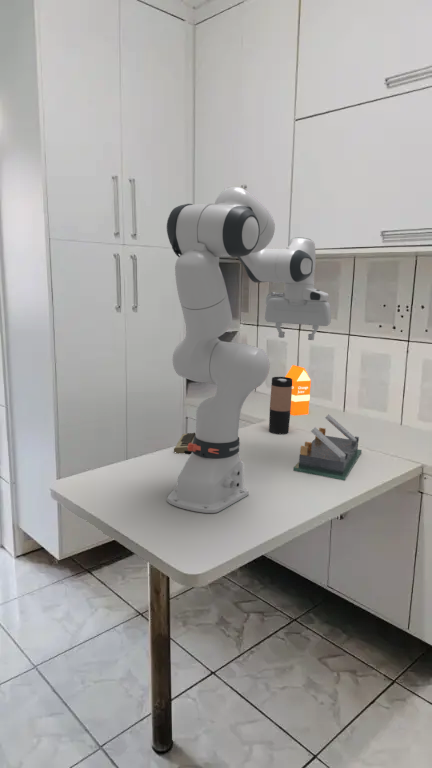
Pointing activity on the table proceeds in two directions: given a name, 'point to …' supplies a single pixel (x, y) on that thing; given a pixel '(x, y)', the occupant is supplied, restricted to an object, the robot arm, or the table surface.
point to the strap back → (340, 428)
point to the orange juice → (299, 390)
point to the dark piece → (328, 457)
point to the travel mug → (280, 405)
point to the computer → (184, 443)
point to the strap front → (328, 442)
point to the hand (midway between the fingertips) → (296, 338)
